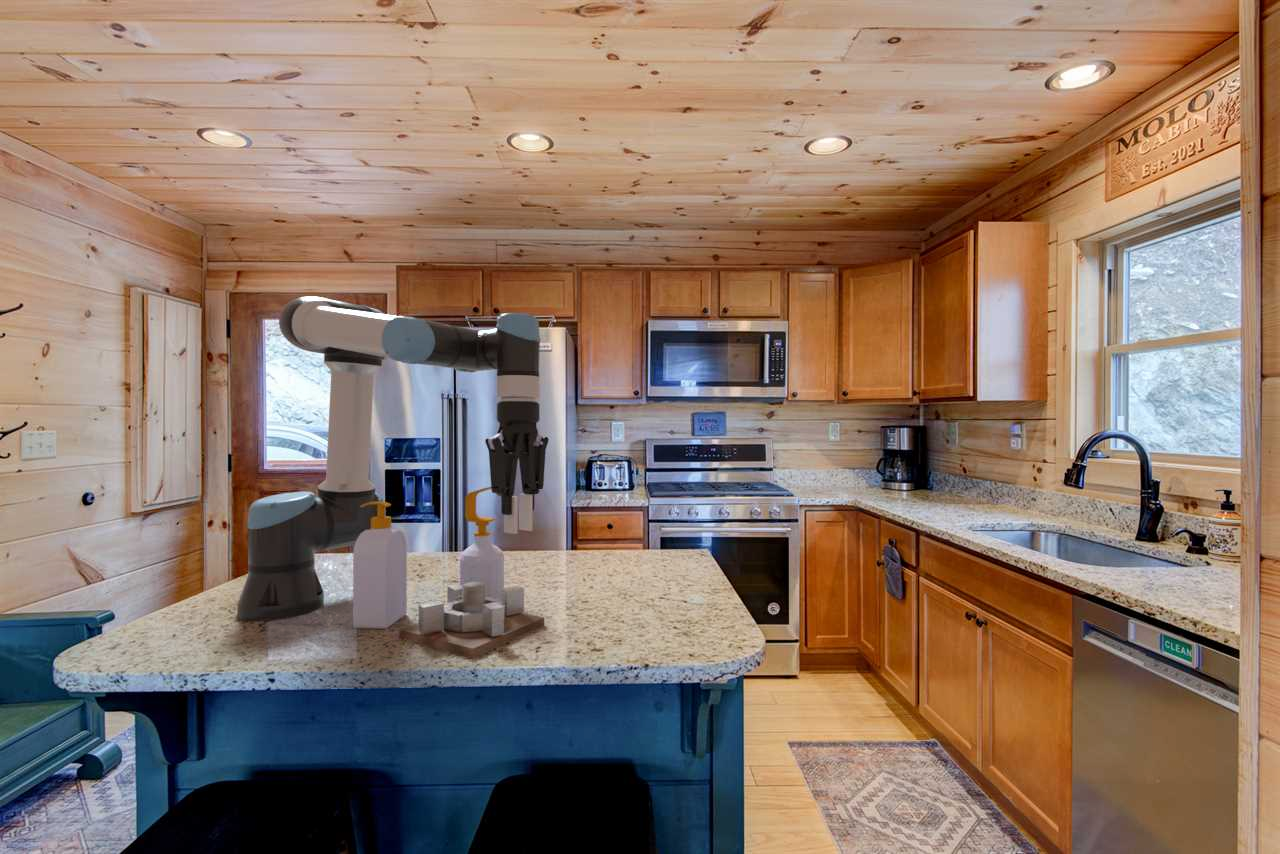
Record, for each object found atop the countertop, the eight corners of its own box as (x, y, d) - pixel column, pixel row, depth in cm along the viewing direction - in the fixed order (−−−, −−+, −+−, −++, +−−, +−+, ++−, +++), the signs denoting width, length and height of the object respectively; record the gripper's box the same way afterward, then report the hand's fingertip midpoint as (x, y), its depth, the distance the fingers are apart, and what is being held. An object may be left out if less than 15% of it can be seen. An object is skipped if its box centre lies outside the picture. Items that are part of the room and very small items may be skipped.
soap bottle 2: (492, 609, 119) (492, 489, 119) (451, 607, 121) (451, 488, 121) (510, 597, 128) (510, 485, 128) (472, 595, 130) (472, 484, 130)
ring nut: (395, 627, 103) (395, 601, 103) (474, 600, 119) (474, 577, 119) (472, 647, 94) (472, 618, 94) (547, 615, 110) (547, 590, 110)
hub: (397, 638, 103) (397, 590, 103) (474, 610, 119) (474, 568, 119) (470, 658, 94) (470, 605, 94) (544, 625, 110) (544, 580, 110)
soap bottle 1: (372, 613, 117) (372, 499, 117) (407, 614, 116) (407, 499, 117) (348, 629, 108) (348, 504, 108) (385, 629, 107) (386, 505, 108)
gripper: (535, 403, 114) (535, 523, 114) (468, 399, 101) (468, 535, 101) (564, 402, 110) (564, 527, 109) (498, 398, 96) (498, 540, 96)
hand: (518, 531), depth 105 cm, fingers open, 3 cm apart
